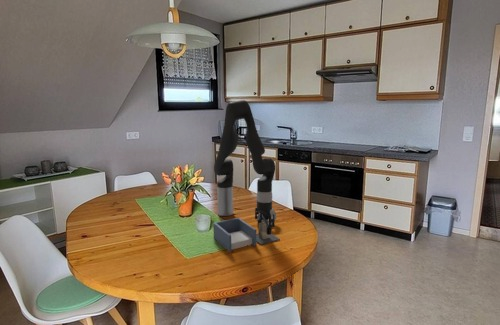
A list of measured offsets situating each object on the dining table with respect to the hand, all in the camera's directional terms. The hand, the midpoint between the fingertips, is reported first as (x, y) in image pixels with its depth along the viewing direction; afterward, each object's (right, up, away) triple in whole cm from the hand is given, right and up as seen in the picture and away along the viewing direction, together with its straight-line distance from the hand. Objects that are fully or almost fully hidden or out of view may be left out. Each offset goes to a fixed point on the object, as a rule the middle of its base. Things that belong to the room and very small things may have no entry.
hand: (264, 231), depth 156 cm
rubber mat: (0, -4, +1) cm, 4 cm away
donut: (+3, -1, +16) cm, 16 cm away
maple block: (0, -3, +1) cm, 3 cm away
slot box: (-14, -4, -3) cm, 15 cm away
